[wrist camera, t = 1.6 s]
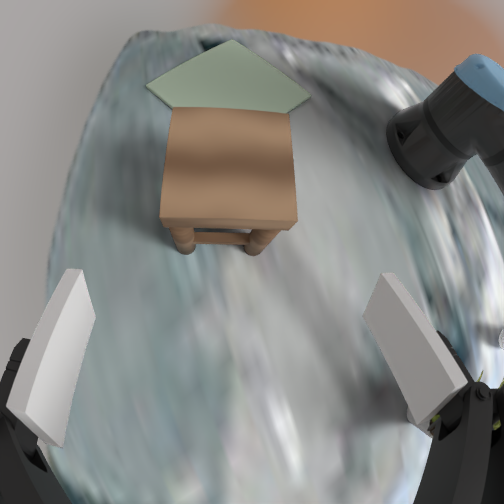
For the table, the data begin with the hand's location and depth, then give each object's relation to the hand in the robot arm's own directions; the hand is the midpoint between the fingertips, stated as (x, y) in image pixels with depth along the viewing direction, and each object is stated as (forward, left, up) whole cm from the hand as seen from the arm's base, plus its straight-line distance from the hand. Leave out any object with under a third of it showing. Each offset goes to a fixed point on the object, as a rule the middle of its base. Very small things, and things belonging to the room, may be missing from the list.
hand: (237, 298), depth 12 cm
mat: (-23, -22, -21) cm, 38 cm away
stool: (-8, -8, -21) cm, 24 cm away
